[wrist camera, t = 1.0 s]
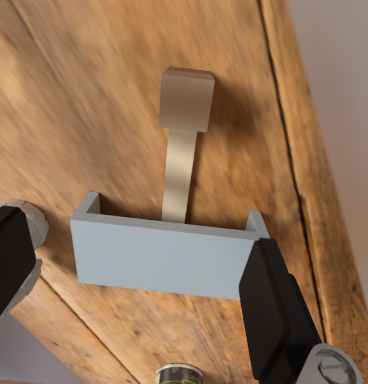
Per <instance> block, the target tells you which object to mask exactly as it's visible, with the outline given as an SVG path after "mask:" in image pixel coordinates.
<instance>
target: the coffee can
mask: <svg viewBox="0 0 368 384" xmlns="http://www.w3.org/2000/svg"><path fill="white" fill-rule="evenodd" d="M155 384H203V374H202V372H201V371H200V370H199V369H197V368H196V367H194V366H191V365H188V364H181V363H173V364H167V365H164V366H162V367H160V368H159V369H158V370H157V372H156V381H155Z"/></svg>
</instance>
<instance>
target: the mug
mask: <svg viewBox="0 0 368 384" xmlns="http://www.w3.org/2000/svg"><path fill="white" fill-rule="evenodd" d="M3 205H6V206H14V207H19V208H21V210H22V211H23V212H25V214H26V218H27V222H28V226H29V231H30V235H31V239H32V243H33V247H34V250H36V249H37V248H39V247H40V246H41V245H42V244H43V242H44V241H45V239H46V236H47V233H48V230H49V224H48V220H45V218H44V217H45V215H44V214H43V213H42V212H41V211H40V210H39V209H38V208H37V207H35V206H34V205H32V204H30V203H26V204H25V201H22V200H8V201H5V202H3V203H1V204H0V207H1V206H3ZM42 263H43V262H42V260H41V259H36V264H35V267H34V269H33V270H32V271H31V273H30V274H29V276H28V277H27V279H26V280H25V282H24V283H23V284H22V286H21V287H20V289H19V290H18V292H17V293H16V294H15V296H14V297H13V299H12V300H11V302H10V303H9V305H8V306H7V307H6V309H5V310H4V312H3V313H2V315H1V316H0V319H1V318H2V317H3V316H4V315H6V314H7V313H8V312H9V311H10V310H11V309H12V308H14V307H15V306H16V305H17V304H18V303H19V302H20V301H22V300H23V299H24V297H25V296H27V295H28V294H29V293H30V292H31V291H32V289H33V287H34V285H35V283H36V281H37V280H38V278H39V276H40V273H41V270H40V269H41V266H42Z"/></svg>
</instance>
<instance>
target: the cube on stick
mask: <svg viewBox="0 0 368 384" xmlns="http://www.w3.org/2000/svg"><path fill="white" fill-rule="evenodd" d="M214 84H215V79H214V78H213V76H212V74H211V72H210V71H203V70H195V69H187V68H180V67H172V66H170V67H169V68H168V69H167V70H166V71H164V72H163V73H162V81H161V97H160V113H159V127H165V128H169V137H168V149H167V161H166V173H165V184H164V196H163V208H162V220H161V221H163V222H172V223H181V224H184V222H185V215H186V208H187V201H188V194H189V187H190V180H191V173H192V165H193V158H194V151H195V144H196V137H197V131H198V132H206V133H207V128H208V122H209V116H210V109H211V103H212V97H213V91H214Z"/></svg>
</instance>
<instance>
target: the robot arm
mask: <svg viewBox="0 0 368 384" xmlns="http://www.w3.org/2000/svg"><path fill="white" fill-rule="evenodd" d="M35 264H36V256H35V252H34V247H33V243H32V239H31V235H30V231H29V226H28V222H27V218H26V214H25V212H23V211H22V210H21V208H19V207H14V206H6V205H3V206H1V207H0V316H1V315H2V313H3V312H4V310H5V309H6V307H7V306H8V305H9V303H10V302H11V300H12V299H13V297H14V296H15V294H16V293H17V292H18V290H19V289H20V287H21V286H22V284H23V283H24V282H25V280H26V279H27V277H28V276H29V274H30V273H31V271H32V270H33V269H34V267H35ZM239 296H240V302H241V308H242V314H243V320H244V326H245V331H246V337H247V343H248V349H249V355H250V361H251V367H252V372H253V377H254V379H255V380H258V381H259V384H363V381H362V377H361V374H360V372H359V370H358V368H357V366H356V365H355V363H354V362H353V361H352V360H351V359H350V357H349V356H347V355H346V354H345V353H344V352H343V351H341V350H340V349H338V348H336V347H335V346H332V345H329V344H322V341H321V339H320V337H319V334H318V332H317V329H316V327H315V325H314V322H313V320H312V317H311V315H310V312H309V310H308V308H307V305H306V303H305V300H304V298H303V296H302V293H301V291H300V288H299V286H298V284H297V281H296V279H295V277H294V276H293V275H292V274H289V272H288V270H287V267H286V265H285V262H284V260H283V257H282V255H281V252H280V250H279V247H278V245H277V242H276V240H275V239H270V238H262V237H261V238H259V240H258V241H257V240H255V241H254V243H253V246H252V249H251V252H250V255H249V257H248V260H247V263H246V266H245V268H244V271H243V274H242V277H241V280H240V282H239ZM0 384H41V383H32V382H21V381H11V380H1V379H0Z"/></svg>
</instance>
